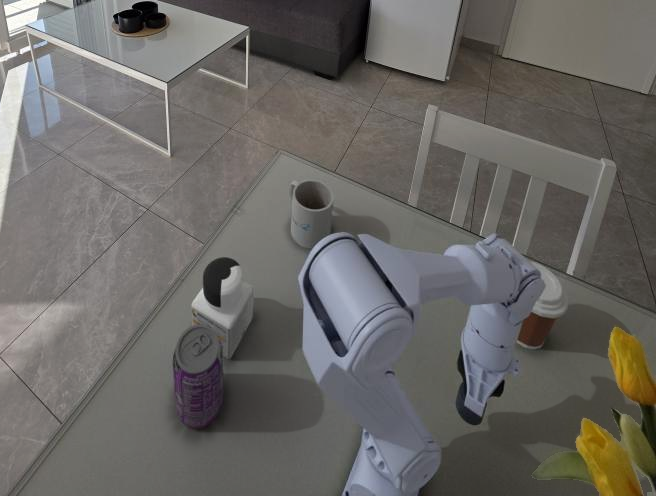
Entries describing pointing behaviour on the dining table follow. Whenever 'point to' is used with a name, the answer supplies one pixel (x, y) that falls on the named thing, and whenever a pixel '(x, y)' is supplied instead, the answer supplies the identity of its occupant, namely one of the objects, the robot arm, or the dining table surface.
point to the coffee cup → (543, 311)
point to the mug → (310, 211)
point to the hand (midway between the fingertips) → (473, 391)
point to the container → (224, 303)
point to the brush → (467, 409)
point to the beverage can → (198, 376)
